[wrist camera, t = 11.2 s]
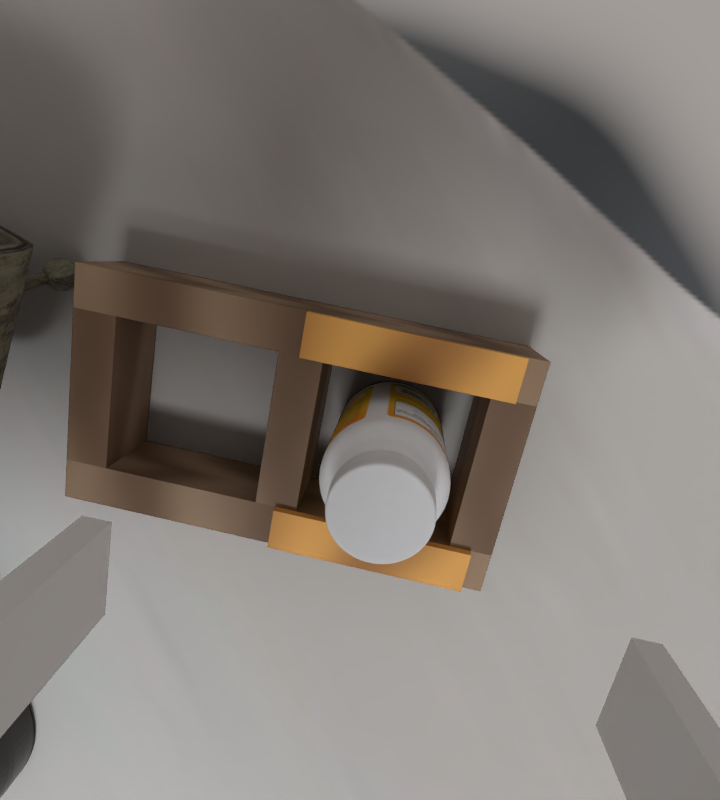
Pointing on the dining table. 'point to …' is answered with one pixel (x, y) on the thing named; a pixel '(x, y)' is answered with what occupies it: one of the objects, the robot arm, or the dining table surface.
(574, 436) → the dining table surface
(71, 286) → the tabletop clock
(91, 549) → the robot arm
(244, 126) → the dining table surface
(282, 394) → the rack
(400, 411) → the supplement bottle
